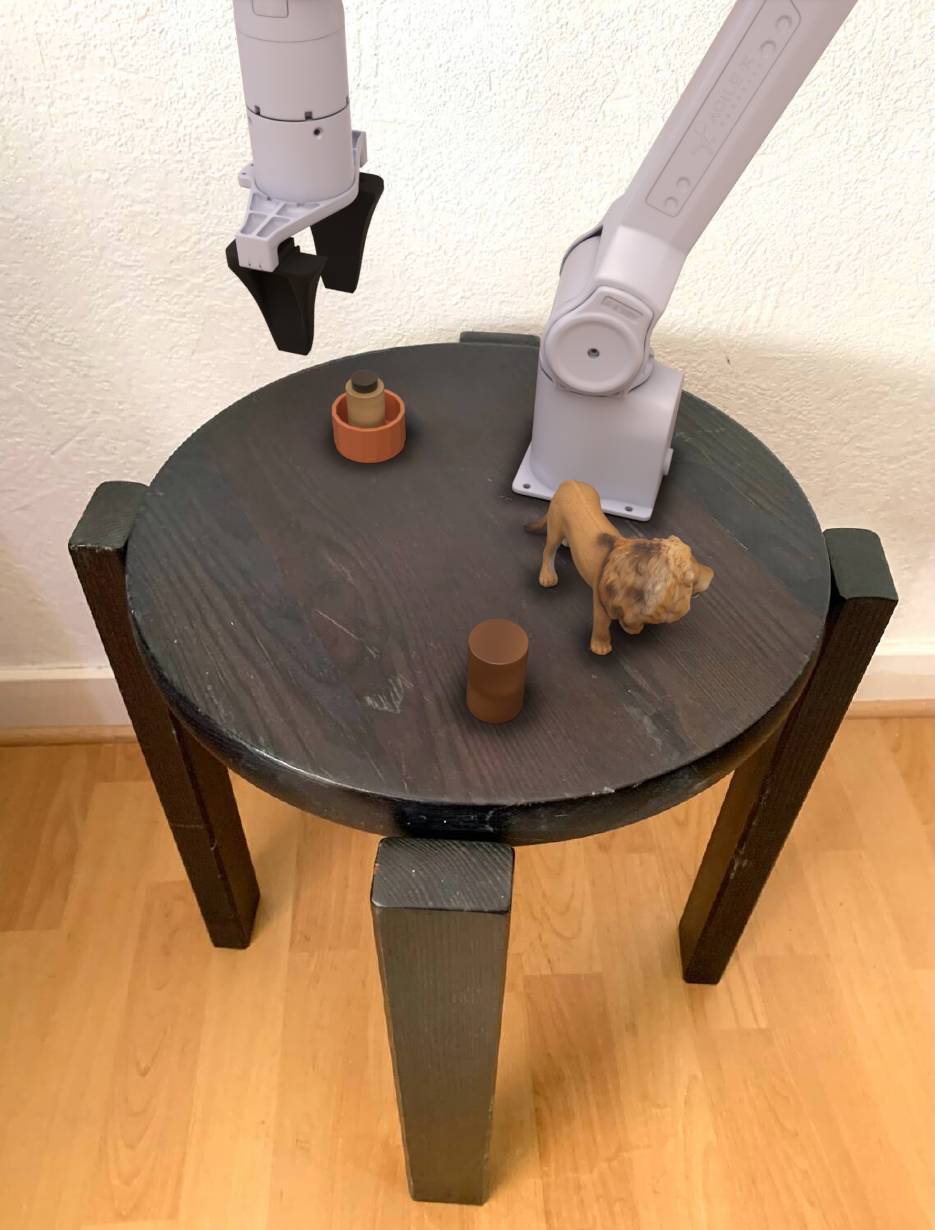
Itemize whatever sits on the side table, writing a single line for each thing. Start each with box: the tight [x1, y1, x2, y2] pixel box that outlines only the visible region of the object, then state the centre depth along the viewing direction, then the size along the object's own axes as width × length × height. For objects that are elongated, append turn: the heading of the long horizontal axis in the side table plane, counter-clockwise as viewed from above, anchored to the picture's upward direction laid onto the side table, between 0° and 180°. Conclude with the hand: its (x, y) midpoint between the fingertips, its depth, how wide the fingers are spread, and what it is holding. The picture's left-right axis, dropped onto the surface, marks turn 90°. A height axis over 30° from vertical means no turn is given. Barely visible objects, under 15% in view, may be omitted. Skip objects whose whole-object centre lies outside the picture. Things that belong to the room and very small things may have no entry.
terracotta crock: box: [331, 388, 407, 464], centre depth 73 cm, size 5×5×3 cm
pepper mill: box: [345, 369, 386, 429], centre depth 72 cm, size 3×3×5 cm
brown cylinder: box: [465, 618, 530, 725], centre depth 57 cm, size 3×3×5 cm
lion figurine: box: [522, 479, 715, 656], centre depth 61 cm, size 15×5×9 cm, turn 33°
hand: (318, 318), depth 67 cm, fingers open, 7 cm apart
